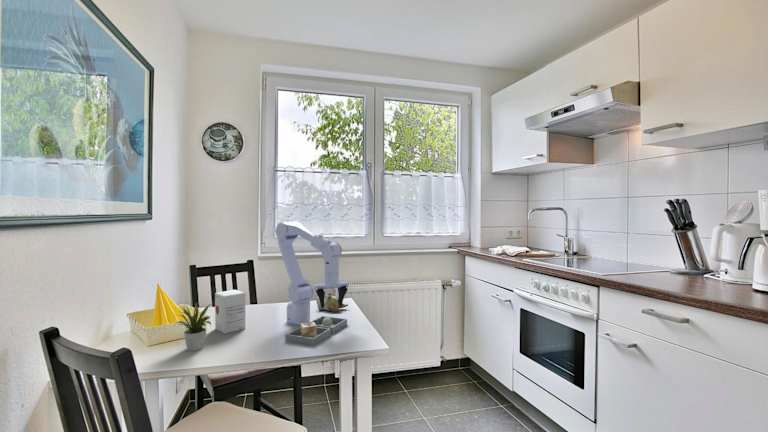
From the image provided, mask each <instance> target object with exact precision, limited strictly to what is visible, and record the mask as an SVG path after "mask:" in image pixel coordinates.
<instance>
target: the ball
mask: <svg viewBox="0 0 768 432" xmlns="http://www.w3.org/2000/svg"><path fill="white" fill-rule="evenodd" d="M329 317H330V316H327V317H326V318H324V319H323V321H322V324H323V326H329V327H330V326H331V325H332V320H331V319H330V318H329Z"/></svg>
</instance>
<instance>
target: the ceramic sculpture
mask: <svg viewBox="0 0 768 432" xmlns="http://www.w3.org/2000/svg"><path fill="white" fill-rule="evenodd" d="M315 297H316V305H317V309H318V311H323V310H326V311H328V312H333V313H338V312H341V311H342V309H343V308H347V307H349V304H348V303H347V304H346V303H345V304H344V303H343V302H342V305H341V306H340V305H339V303H338V298H339V296H336V295H332V293H328V294H325V297H324V308H322V307H321V304H320V300H319V297H318V295H317V294H316V296H315Z"/></svg>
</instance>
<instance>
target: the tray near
mask: <svg viewBox="0 0 768 432" xmlns="http://www.w3.org/2000/svg"><path fill="white" fill-rule="evenodd" d="M331 335H332V334H331V329H329V328H322V327H317V336H316V337H314V338H309V337H302V336H301V326H299V327H298V328H296V329H293V330H292V331H290V332H289V333H286V334H285V335H284V336H285V338H284V339H285V341H284V342H288V343H293V344H300V345H306V346H312V347H314V346H316V345H317V344H319V343H320V342H322V341H324V340H325V339H326V338H328V337H330V336H331Z"/></svg>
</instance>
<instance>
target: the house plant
mask: <svg viewBox="0 0 768 432" xmlns="http://www.w3.org/2000/svg"><path fill="white" fill-rule="evenodd" d="M197 304H198V301H197V302H196V303H195V306H194V308H193V315H191V311H190V309H189V308H188V306H185V305H184V306H183V307H182V306H181V309H182V310H183V311H180V310H179V314H180V313H181V314H180V317H183V319H184V320H185V321H182V320H180V321H179V320H178V321H177V322H176V324H179V326H182V325H184V326H185V328H186V329H185V330H184V331H183V334H184V335H183V336H184V340H185V345H186V350H187V351H188V350H189V351H188V352H194V351H195V352H196V351H199V350H202V349H204V347H205V341H206V334H207V327H206V326H207V325H206V323H207V324H208V325H210V326H212V322H211V321H208V320H209V319H211V315H209V316H204V315H205V314H206V313H207V312H208V311H209V309H208V308H209V307H210V306H211V305H212V303H210V304H208V305H206V306H205V307H204V309H203V310H202V311H200V312H199V310H200V308H199V307H198V305H197ZM203 306H204V303H203V304H202V305H201V307H203ZM184 307H185V308H184ZM175 310H177V311H178V308H175ZM199 313H200V314H199ZM186 316H187V317H186ZM203 326H204V327H203Z"/></svg>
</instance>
